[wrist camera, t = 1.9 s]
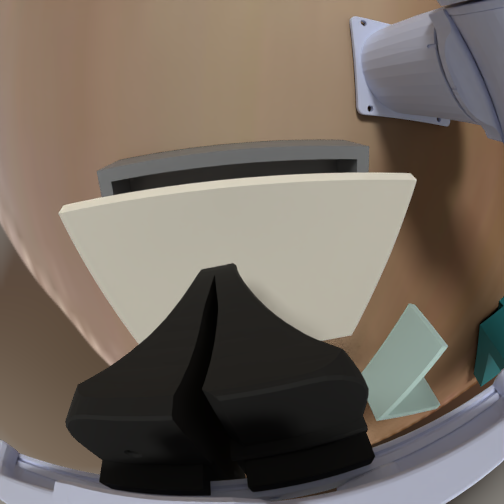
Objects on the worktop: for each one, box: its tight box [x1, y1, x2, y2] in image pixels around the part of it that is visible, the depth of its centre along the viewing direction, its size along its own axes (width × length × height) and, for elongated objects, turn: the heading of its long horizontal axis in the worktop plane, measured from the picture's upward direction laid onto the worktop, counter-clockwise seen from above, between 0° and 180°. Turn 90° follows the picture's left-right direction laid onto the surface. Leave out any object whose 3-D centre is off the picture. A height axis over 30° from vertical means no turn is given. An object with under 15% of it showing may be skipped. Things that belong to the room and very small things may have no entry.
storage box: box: [97, 140, 369, 197], centre depth 19 cm, size 16×14×4 cm
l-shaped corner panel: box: [361, 304, 448, 421], centre depth 28 cm, size 12×12×8 cm
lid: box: [59, 173, 417, 344], centre depth 16 cm, size 16×14×1 cm
